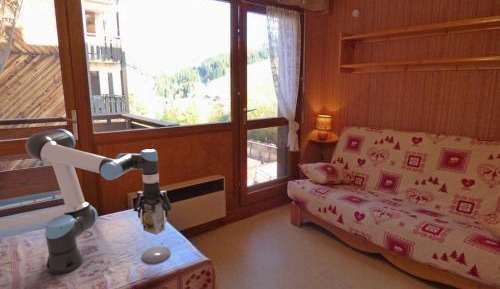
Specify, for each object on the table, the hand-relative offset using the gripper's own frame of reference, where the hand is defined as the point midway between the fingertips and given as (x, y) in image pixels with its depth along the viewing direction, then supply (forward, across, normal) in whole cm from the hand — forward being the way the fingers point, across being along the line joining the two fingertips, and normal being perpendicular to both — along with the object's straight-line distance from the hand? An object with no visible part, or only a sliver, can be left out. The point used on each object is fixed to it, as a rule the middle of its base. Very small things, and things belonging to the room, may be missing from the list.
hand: (153, 223), depth 148 cm
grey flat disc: (+18, 0, 0) cm, 18 cm away
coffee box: (+4, 0, 0) cm, 4 cm away
